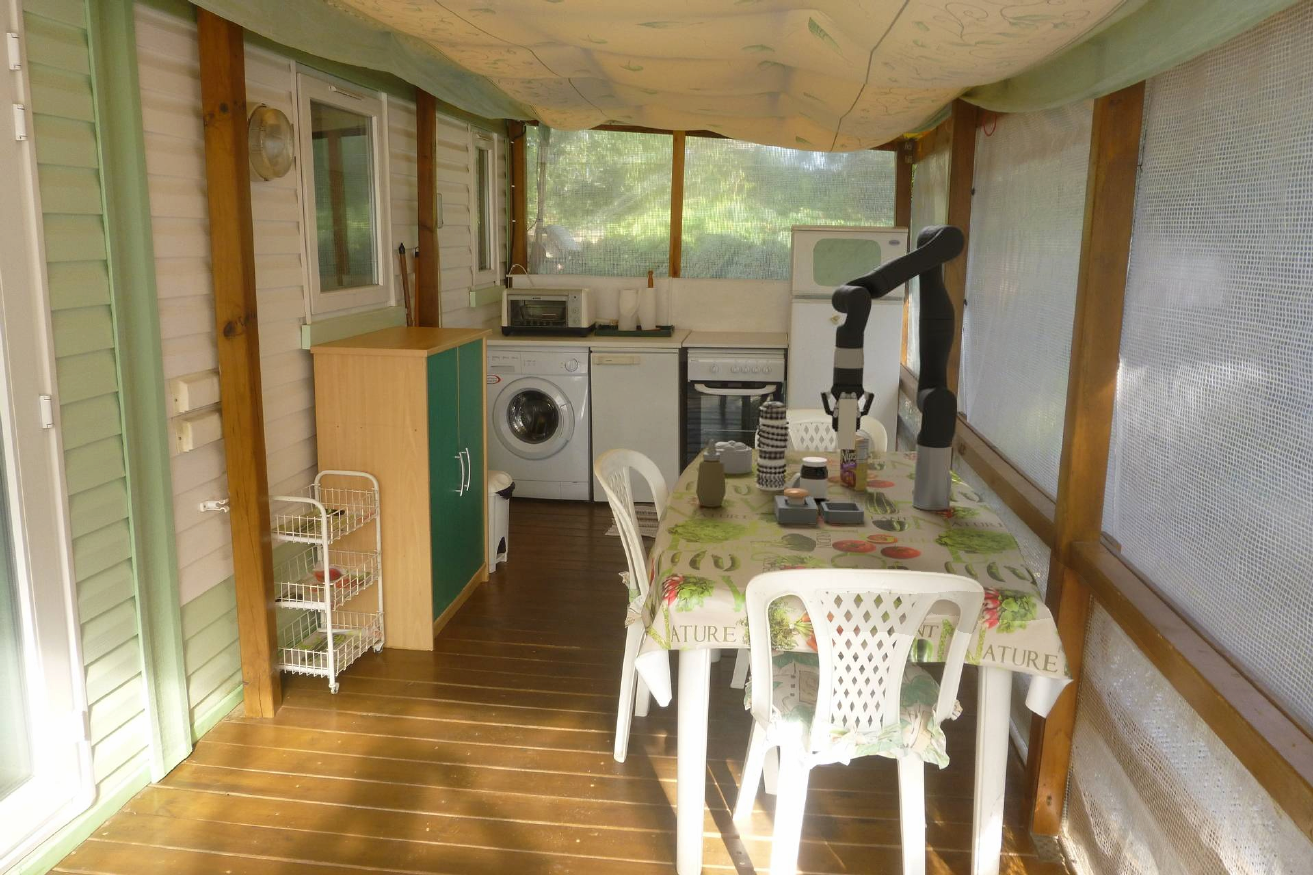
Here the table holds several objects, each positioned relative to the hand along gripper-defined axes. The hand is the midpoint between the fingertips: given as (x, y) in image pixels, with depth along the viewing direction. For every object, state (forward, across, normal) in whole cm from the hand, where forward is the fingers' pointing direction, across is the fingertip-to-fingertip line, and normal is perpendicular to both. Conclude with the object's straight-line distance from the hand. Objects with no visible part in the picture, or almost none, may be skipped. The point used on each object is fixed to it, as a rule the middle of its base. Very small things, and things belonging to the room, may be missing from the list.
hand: (845, 431), depth 266 cm
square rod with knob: (+4, 0, 0) cm, 4 cm away
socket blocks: (+23, +6, 0) cm, 24 cm away
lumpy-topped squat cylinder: (+23, +27, -54) cm, 65 cm away
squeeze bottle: (+23, +34, -10) cm, 43 cm away
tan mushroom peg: (+22, +12, 0) cm, 25 cm away
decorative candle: (+23, +16, -32) cm, 43 cm away
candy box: (+23, -8, -34) cm, 42 cm away
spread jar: (+23, +7, -20) cm, 31 cm away
